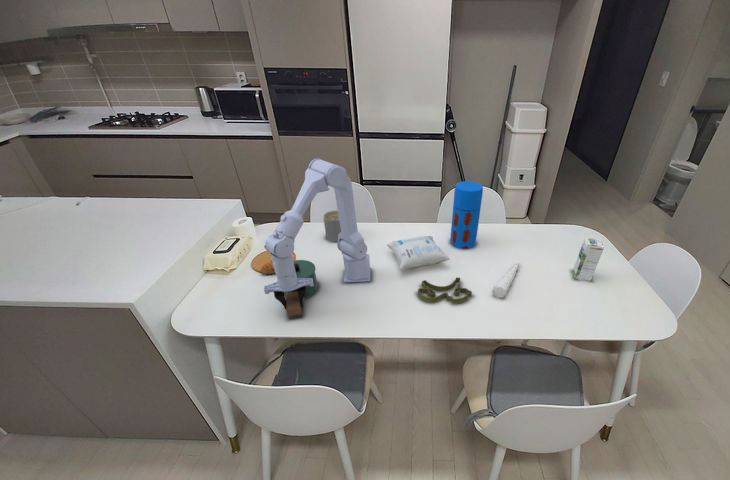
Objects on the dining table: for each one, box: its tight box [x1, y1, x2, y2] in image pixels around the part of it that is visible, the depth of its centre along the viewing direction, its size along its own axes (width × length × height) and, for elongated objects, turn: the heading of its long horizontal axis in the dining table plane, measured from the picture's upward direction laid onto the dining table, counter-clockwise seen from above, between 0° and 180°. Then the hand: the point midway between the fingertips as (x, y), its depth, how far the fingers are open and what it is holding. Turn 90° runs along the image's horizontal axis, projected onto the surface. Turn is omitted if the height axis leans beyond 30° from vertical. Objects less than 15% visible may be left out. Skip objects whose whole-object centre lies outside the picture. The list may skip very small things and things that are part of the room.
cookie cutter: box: [417, 277, 473, 305], centre depth 121 cm, size 18×12×2 cm, turn 98°
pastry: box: [260, 259, 276, 275], centre depth 131 cm, size 9×7×4 cm
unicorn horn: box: [491, 263, 519, 299], centre depth 126 cm, size 5×24×5 cm, turn 146°
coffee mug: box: [322, 209, 341, 243], centre depth 151 cm, size 13×10×10 cm
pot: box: [284, 271, 318, 299], centre depth 121 cm, size 12×12×8 cm
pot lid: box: [293, 259, 316, 278], centre depth 118 cm, size 13×13×3 cm
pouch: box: [385, 235, 451, 270], centre depth 136 cm, size 8×19×20 cm
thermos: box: [450, 180, 484, 250], centre depth 142 cm, size 11×11×25 cm
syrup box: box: [572, 237, 605, 282], centre depth 126 cm, size 6×6×14 cm
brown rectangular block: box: [285, 292, 303, 320], centre depth 113 cm, size 9×4×4 cm, turn 18°
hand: (294, 306), depth 113 cm, fingers closed on brown rectangular block, 4 cm apart
